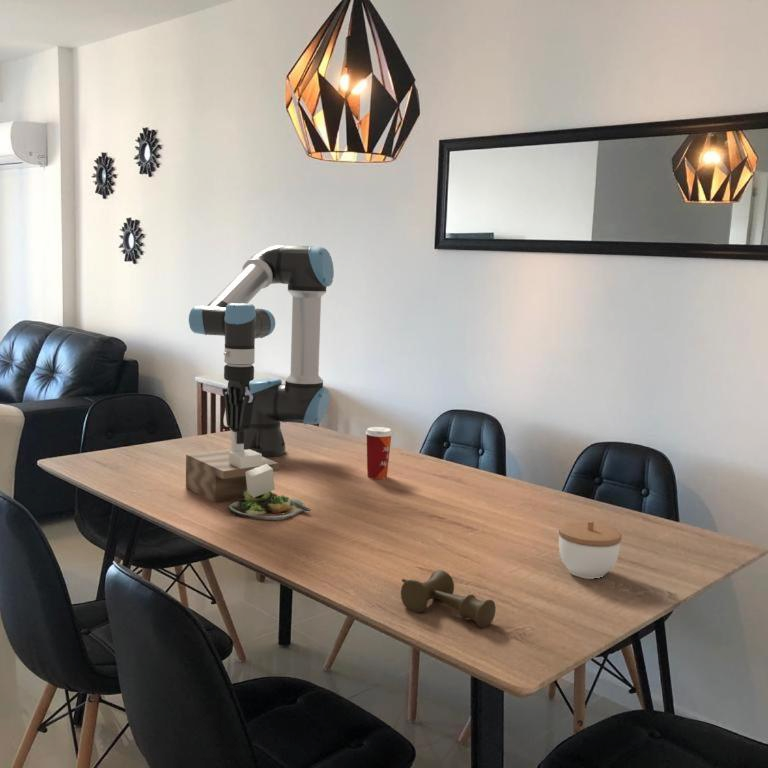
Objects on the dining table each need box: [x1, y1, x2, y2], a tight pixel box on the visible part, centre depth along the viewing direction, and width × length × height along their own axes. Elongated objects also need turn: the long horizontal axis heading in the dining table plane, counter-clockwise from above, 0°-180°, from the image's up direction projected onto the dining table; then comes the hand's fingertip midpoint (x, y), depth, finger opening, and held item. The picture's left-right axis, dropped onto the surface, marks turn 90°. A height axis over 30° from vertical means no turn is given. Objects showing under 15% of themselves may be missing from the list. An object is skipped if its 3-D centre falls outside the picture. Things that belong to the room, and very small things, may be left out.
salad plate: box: [227, 490, 311, 521], centre depth 207 cm, size 19×18×5 cm
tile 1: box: [229, 449, 262, 469], centre depth 214 cm, size 6×6×3 cm
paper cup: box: [365, 426, 393, 480], centre depth 241 cm, size 8×8×14 cm
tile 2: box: [245, 464, 275, 498], centre depth 208 cm, size 6×6×3 cm
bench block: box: [185, 447, 280, 503], centre depth 220 cm, size 20×16×9 cm
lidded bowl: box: [558, 520, 623, 580], centre depth 174 cm, size 13×13×11 cm
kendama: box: [400, 569, 496, 629], centre depth 153 cm, size 6×10×20 cm
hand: (237, 455), depth 217 cm, fingers closed
